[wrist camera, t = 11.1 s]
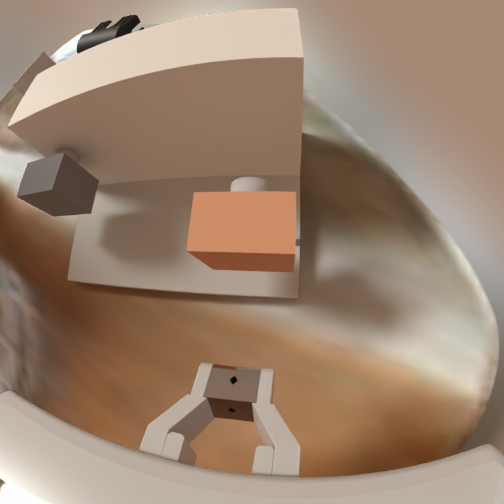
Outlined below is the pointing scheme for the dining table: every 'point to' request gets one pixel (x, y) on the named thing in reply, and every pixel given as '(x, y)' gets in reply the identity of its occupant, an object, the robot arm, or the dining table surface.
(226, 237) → the orange thick block
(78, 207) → the grey plug
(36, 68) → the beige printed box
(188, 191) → the plug console
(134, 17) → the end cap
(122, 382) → the dining table surface
